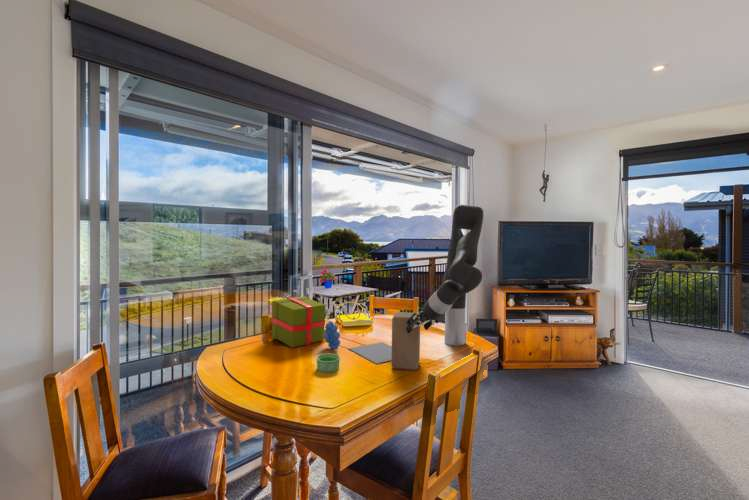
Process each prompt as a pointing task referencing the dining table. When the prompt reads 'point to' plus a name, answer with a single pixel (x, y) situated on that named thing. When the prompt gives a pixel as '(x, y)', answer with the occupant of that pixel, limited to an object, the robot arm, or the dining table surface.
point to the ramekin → (328, 362)
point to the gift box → (298, 321)
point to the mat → (375, 352)
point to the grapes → (332, 335)
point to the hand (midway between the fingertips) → (416, 329)
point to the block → (405, 343)
